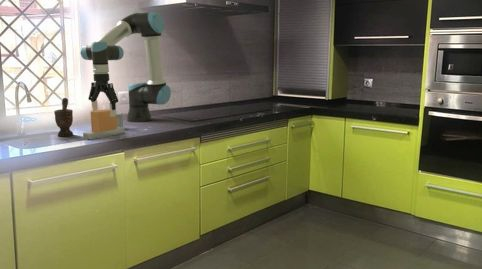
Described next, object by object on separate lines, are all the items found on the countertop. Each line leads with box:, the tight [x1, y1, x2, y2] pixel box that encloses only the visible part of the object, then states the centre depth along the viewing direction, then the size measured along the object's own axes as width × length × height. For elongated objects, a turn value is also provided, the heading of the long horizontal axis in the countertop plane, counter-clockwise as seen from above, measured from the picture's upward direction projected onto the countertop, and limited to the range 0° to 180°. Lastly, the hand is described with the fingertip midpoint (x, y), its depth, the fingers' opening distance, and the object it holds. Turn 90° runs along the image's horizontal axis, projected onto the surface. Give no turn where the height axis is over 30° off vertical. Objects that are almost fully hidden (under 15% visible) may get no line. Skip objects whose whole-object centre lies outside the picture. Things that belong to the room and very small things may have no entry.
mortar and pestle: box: [54, 97, 74, 137], centre depth 224 cm, size 12×9×20 cm
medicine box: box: [116, 112, 124, 127], centre depth 245 cm, size 8×4×9 cm, turn 92°
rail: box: [82, 126, 126, 140], centre depth 225 cm, size 22×5×3 cm, turn 146°
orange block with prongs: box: [90, 108, 117, 132], centre depth 224 cm, size 11×6×13 cm, turn 146°
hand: (104, 115), depth 224 cm, fingers open, 13 cm apart
